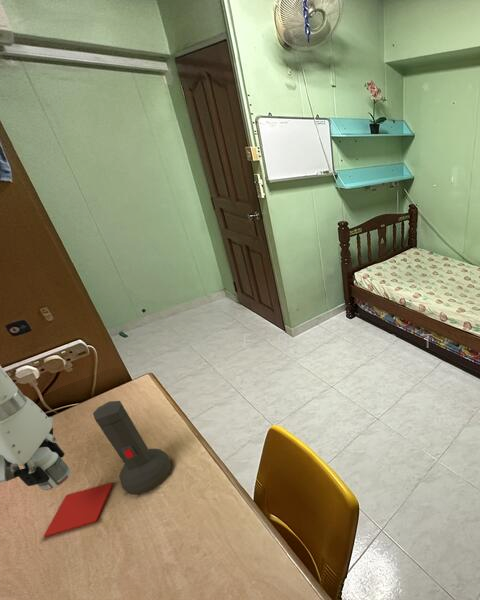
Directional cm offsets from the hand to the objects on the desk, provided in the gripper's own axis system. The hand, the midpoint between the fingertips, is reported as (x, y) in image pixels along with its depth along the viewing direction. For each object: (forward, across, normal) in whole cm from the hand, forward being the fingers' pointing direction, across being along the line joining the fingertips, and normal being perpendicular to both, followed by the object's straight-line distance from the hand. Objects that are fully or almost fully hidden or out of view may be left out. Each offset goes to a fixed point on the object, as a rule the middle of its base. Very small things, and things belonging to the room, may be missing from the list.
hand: (47, 469), depth 64 cm
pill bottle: (+4, 0, 0) cm, 4 cm away
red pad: (+15, 0, 0) cm, 15 cm away
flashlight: (+15, -4, +12) cm, 20 cm away
